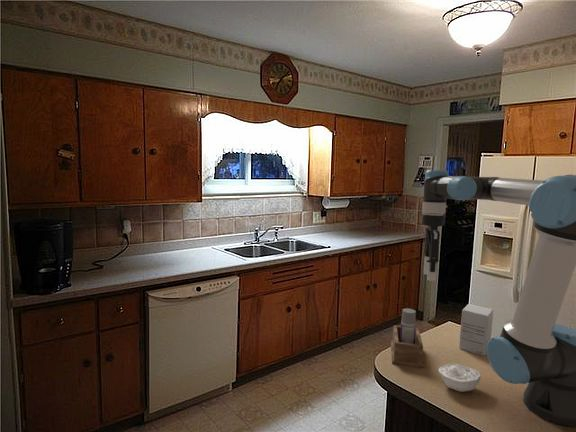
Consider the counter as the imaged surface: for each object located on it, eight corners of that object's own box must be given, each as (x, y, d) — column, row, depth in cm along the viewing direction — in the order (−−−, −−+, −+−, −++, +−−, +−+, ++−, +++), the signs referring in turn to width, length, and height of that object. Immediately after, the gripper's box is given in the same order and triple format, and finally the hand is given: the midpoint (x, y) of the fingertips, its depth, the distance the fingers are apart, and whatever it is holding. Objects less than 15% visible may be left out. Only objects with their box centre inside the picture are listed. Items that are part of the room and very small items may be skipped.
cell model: (487, 396, 109) (490, 374, 108) (448, 398, 108) (450, 376, 107) (467, 377, 119) (469, 357, 118) (431, 379, 118) (432, 358, 117)
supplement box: (464, 340, 146) (468, 303, 144) (490, 347, 141) (494, 308, 139) (458, 348, 139) (461, 309, 137) (484, 356, 134) (488, 315, 132)
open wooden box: (423, 367, 124) (425, 347, 124) (392, 363, 127) (393, 343, 126) (418, 345, 140) (419, 327, 140) (390, 342, 143) (391, 324, 142)
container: (402, 347, 137) (404, 307, 135) (415, 351, 134) (418, 310, 132) (397, 352, 133) (400, 310, 131) (410, 356, 130) (413, 314, 128)
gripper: (451, 217, 122) (446, 286, 125) (439, 211, 142) (435, 271, 145) (426, 216, 124) (422, 284, 126) (418, 211, 144) (415, 269, 147)
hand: (429, 277), depth 136 cm, fingers open, 8 cm apart
